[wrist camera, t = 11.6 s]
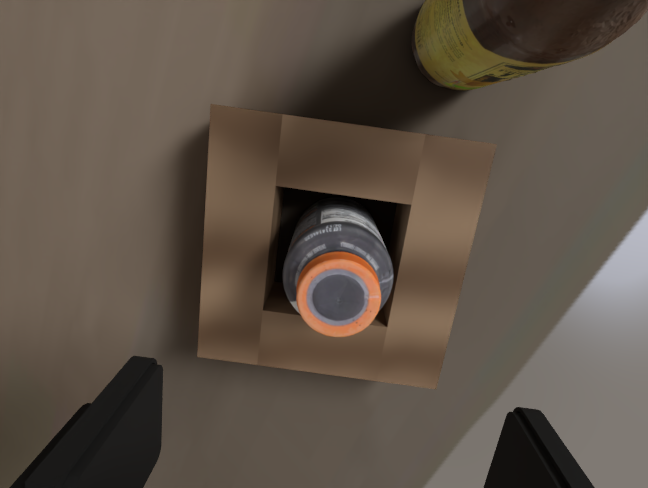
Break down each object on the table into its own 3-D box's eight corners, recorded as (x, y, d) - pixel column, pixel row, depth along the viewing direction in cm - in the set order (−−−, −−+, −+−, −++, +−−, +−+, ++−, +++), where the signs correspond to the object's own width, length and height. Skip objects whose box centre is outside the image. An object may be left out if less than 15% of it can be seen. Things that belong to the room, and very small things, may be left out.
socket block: (232, 107, 28) (210, 104, 23) (469, 140, 28) (497, 144, 23) (218, 321, 32) (197, 356, 27) (421, 349, 32) (436, 389, 28)
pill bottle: (321, 288, 31) (314, 377, 20) (279, 221, 30) (248, 279, 19) (392, 250, 30) (424, 323, 19) (352, 179, 29) (363, 215, 18)
